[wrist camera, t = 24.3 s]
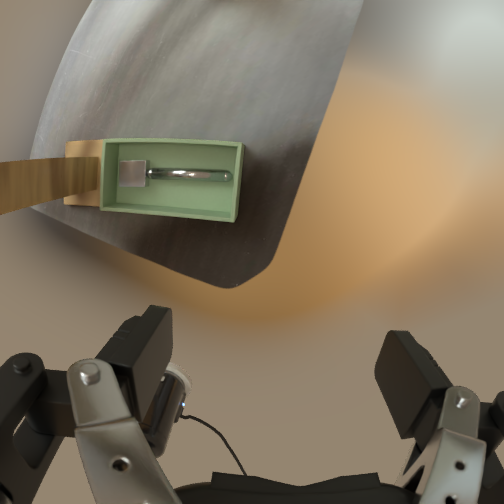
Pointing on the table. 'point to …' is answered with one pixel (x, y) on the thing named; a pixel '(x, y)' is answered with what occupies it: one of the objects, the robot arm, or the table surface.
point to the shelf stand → (53, 178)
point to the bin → (173, 191)
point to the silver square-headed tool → (165, 174)
